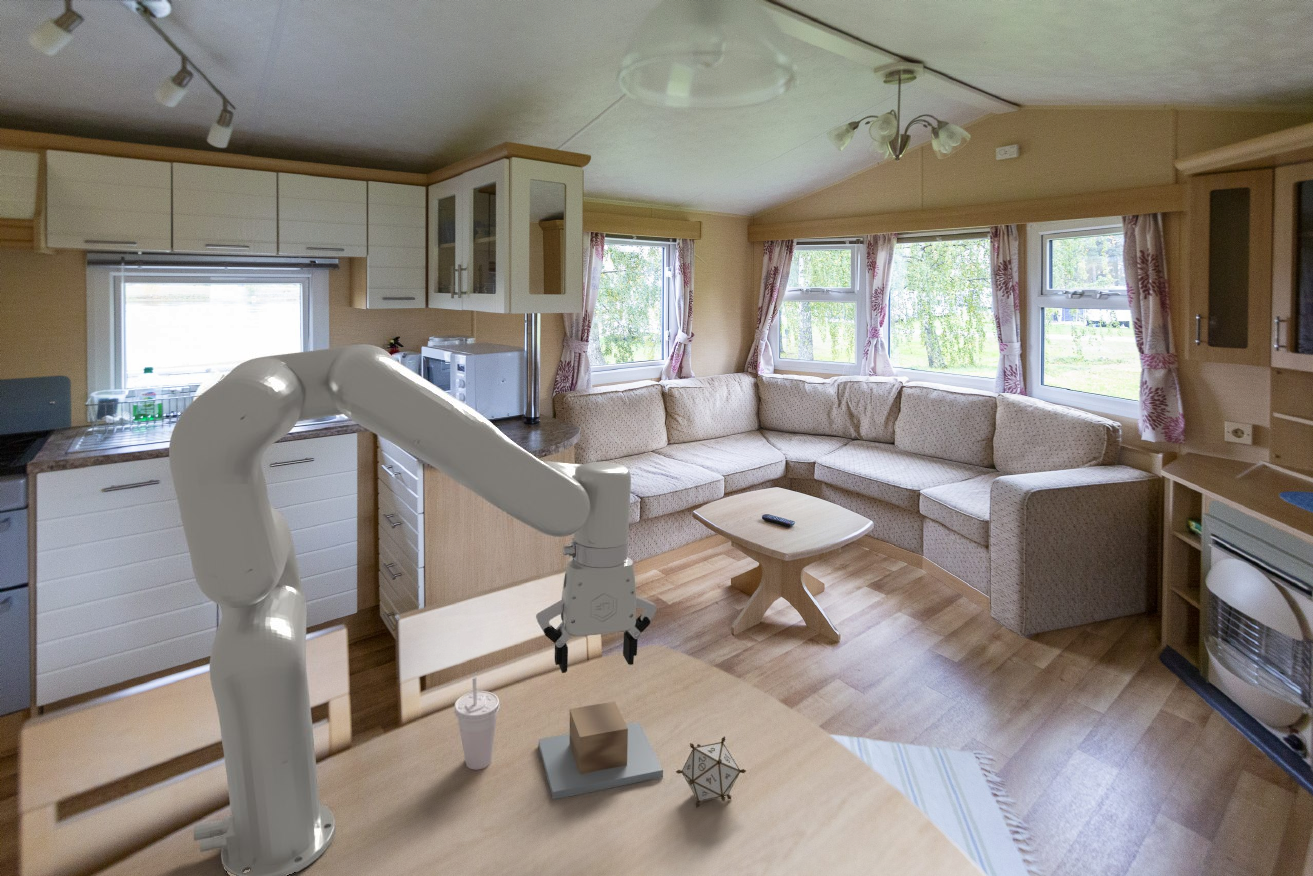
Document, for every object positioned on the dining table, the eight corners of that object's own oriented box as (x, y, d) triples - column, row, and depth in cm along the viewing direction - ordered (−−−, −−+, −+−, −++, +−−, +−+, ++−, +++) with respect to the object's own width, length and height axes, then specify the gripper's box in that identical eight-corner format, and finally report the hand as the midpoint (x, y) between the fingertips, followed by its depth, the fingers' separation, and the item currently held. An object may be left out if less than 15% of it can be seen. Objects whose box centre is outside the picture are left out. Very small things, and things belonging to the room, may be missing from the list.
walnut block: (579, 774, 102) (579, 737, 101) (569, 744, 109) (569, 709, 107) (627, 765, 105) (627, 728, 103) (614, 736, 111) (614, 701, 110)
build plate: (552, 799, 99) (552, 792, 99) (538, 746, 110) (538, 739, 110) (662, 777, 104) (663, 770, 104) (638, 728, 115) (638, 721, 115)
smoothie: (448, 772, 104) (444, 685, 101) (467, 744, 110) (464, 661, 107) (490, 778, 103) (488, 690, 100) (507, 750, 109) (505, 666, 106)
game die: (718, 827, 100) (740, 808, 93) (663, 799, 101) (680, 778, 93) (737, 765, 106) (759, 743, 99) (684, 739, 107) (702, 715, 99)
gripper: (542, 566, 93) (539, 685, 97) (668, 557, 99) (661, 670, 103) (533, 545, 100) (531, 658, 104) (651, 538, 106) (645, 645, 109)
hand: (595, 664), depth 103 cm, fingers open, 9 cm apart
